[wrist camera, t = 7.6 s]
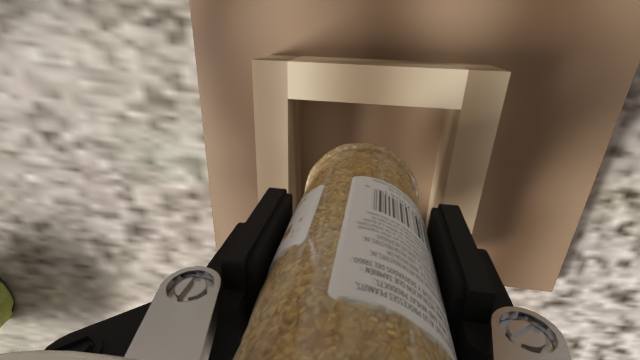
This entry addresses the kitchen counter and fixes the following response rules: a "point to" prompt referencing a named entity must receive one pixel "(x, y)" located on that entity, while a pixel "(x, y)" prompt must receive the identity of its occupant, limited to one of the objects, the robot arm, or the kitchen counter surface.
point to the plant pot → (5, 304)
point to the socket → (383, 89)
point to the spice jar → (352, 270)
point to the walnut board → (426, 123)
